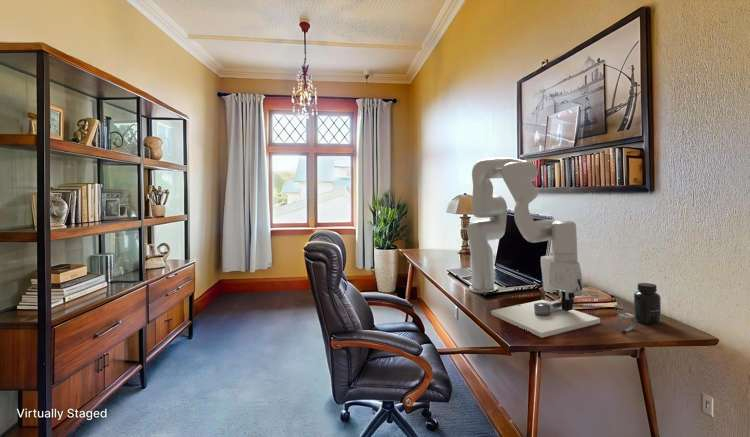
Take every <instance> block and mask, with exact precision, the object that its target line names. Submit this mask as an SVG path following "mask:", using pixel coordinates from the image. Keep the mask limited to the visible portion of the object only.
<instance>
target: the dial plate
mask: <svg viewBox="0 0 750 437" xmlns="http://www.w3.org/2000/svg"><path fill="white" fill-rule="evenodd" d="M547 302H550V301H549V300H545V299H540V300H535V301H534V300H533V301H531V302H525V303H521V304H519V303H518V304H515V305H511V306H507V307H501V308H497V309H493V310H491V311H490V312H491V315H492V316H494V317H496V318H498V319H500V320H502V321H505V322H507V323H509V324H511V325H513V326H516V327H517V326H518V327H517V328H520V329H522V330H524V329H525V331H526V330H527V331H526V332H528V331H529V333H530V332H531V333H530V334H533V335H535V336H537V337H539V338H542V339H543V338H546V337H549V336H551V337H552V336H554V335H559V334H563V333H566V332H570V331H574V330H578V329H582V328H586V327H589V326H594V325H597V324H601V318H600V317H597V316H594V315H591V314H589V313H585V312H583V311H578V310H576V309H572V310H570V311H565V310H560V311H556V312H552V313H550V315H548V316H540V315H536V314H535V313H534V304H535V303H547Z"/></svg>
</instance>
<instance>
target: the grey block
mask: <svg viewBox="0 0 750 437" xmlns="http://www.w3.org/2000/svg"><path fill="white" fill-rule="evenodd" d="M560 310H562V301H561V299H559V298H558V299H556V300H552V301H549V302H547V303H535V304H534V313H535V314H536V315H540V316H548V315H550V313H552V312H556V311H560Z"/></svg>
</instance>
